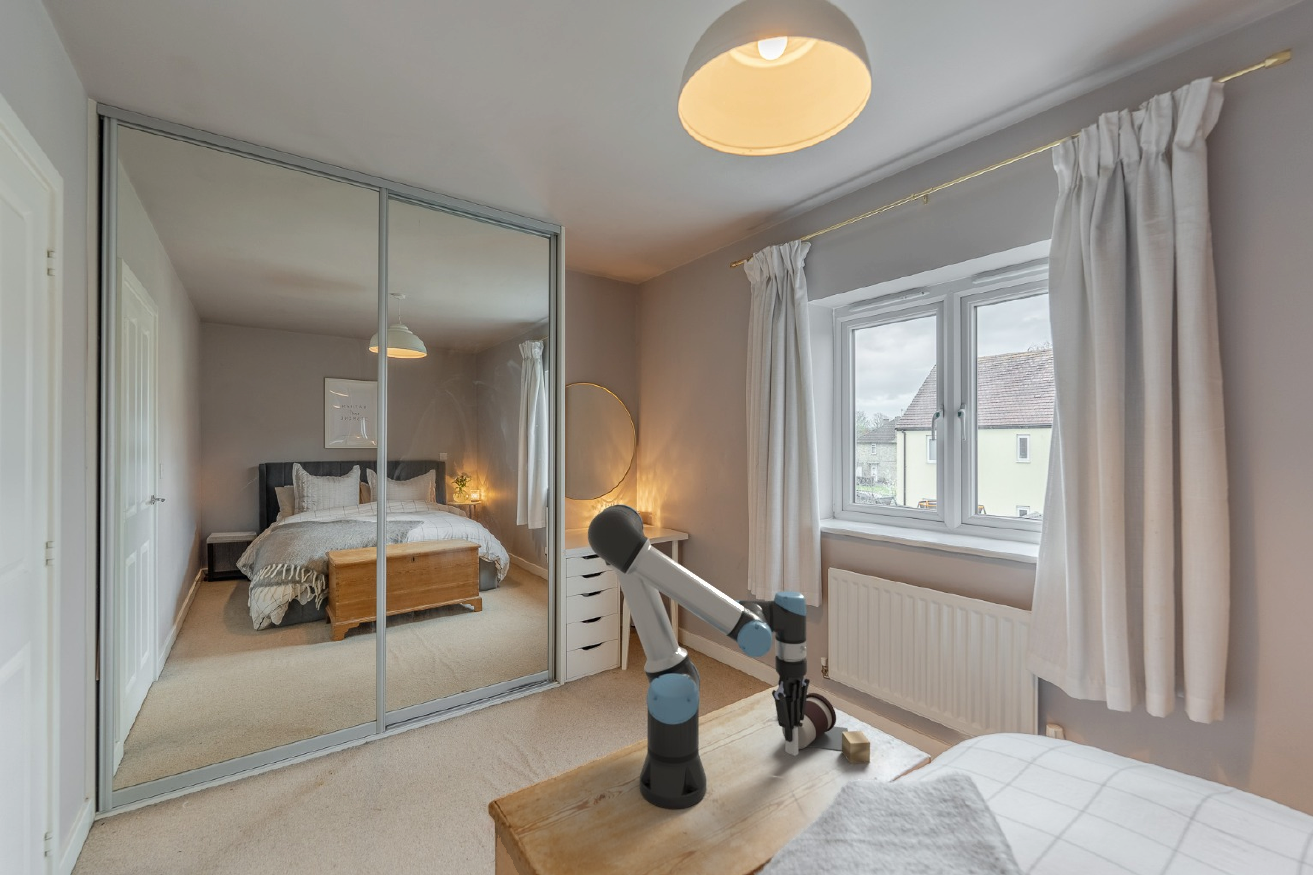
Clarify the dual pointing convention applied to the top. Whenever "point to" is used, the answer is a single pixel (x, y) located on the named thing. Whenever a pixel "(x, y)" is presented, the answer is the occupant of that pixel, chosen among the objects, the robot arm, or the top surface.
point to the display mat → (830, 739)
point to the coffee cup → (815, 719)
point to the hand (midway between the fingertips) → (791, 752)
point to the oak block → (856, 747)
